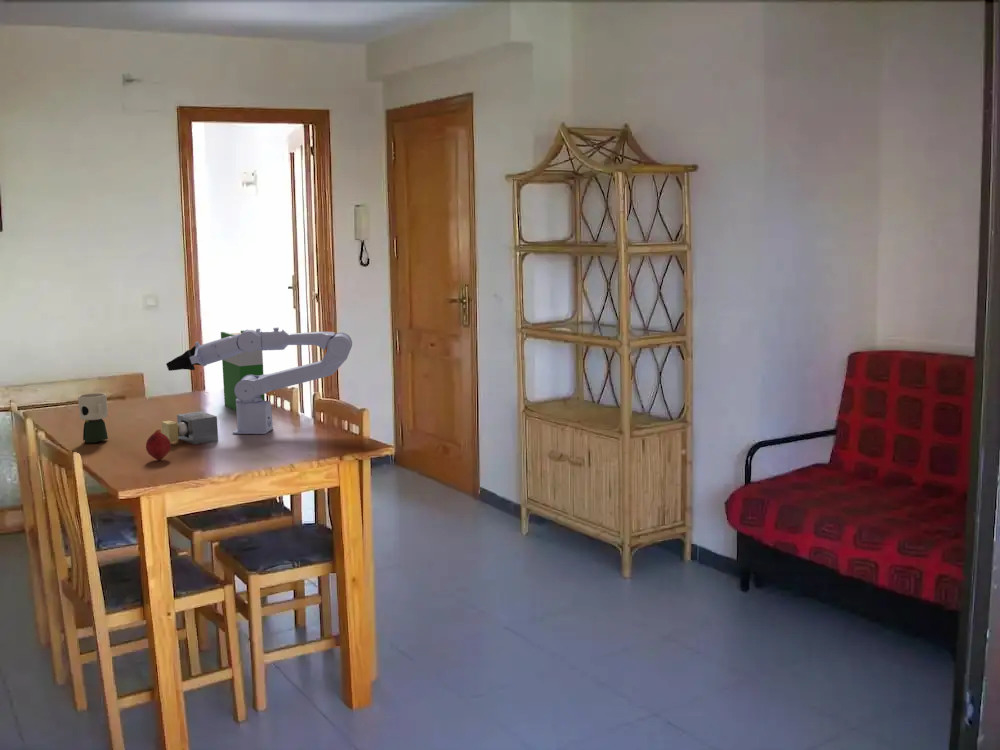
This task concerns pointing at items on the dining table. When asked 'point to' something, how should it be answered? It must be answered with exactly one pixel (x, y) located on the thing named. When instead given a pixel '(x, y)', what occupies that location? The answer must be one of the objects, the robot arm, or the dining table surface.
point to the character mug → (93, 416)
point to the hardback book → (239, 371)
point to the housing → (199, 427)
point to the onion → (158, 445)
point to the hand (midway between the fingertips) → (170, 365)
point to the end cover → (174, 430)
